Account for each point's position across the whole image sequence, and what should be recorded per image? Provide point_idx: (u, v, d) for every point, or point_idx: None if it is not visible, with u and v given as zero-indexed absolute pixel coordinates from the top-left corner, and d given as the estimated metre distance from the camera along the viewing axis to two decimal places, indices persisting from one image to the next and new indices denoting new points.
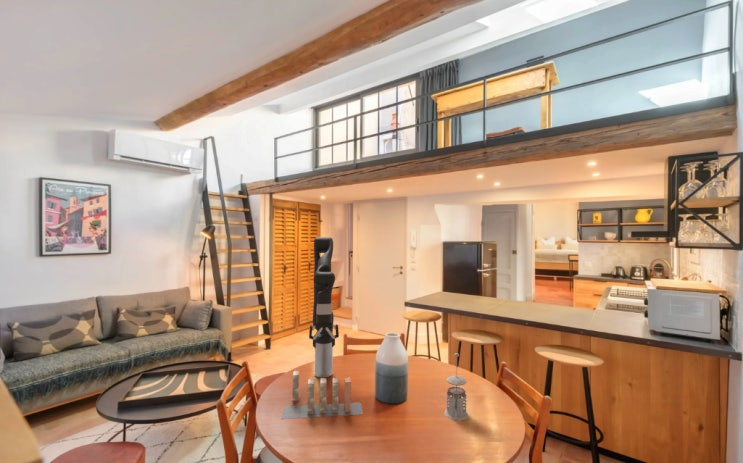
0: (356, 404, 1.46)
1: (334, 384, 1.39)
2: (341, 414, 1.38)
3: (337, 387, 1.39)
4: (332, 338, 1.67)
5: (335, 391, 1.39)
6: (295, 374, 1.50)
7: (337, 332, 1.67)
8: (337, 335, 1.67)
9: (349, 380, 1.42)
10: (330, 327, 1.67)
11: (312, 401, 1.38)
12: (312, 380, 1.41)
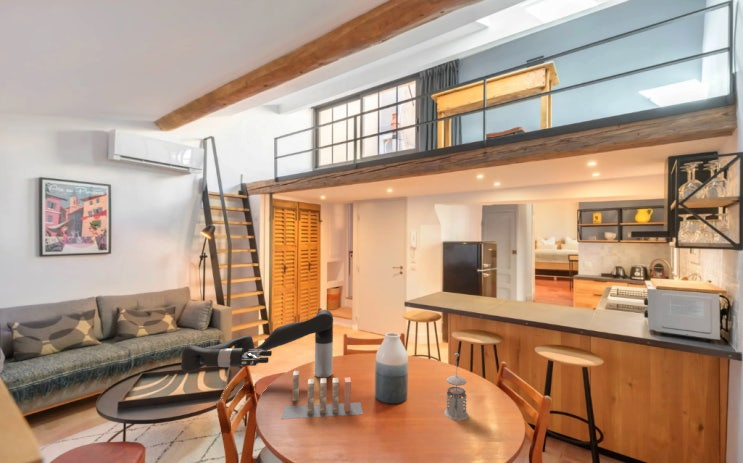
0: (356, 404, 1.46)
1: (334, 384, 1.39)
2: (341, 414, 1.38)
3: (337, 387, 1.39)
4: (262, 352, 1.53)
5: (335, 391, 1.39)
6: (295, 374, 1.50)
7: (256, 349, 1.55)
8: (260, 349, 1.56)
9: (349, 380, 1.42)
10: None
11: (312, 401, 1.38)
12: (312, 380, 1.41)
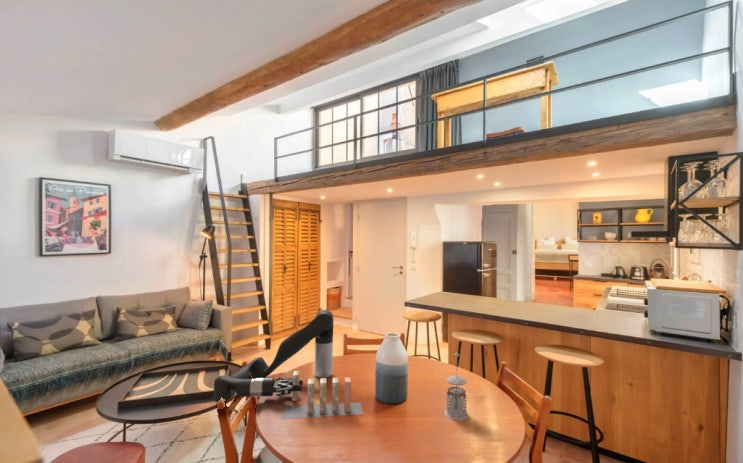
0: (356, 404, 1.46)
1: (334, 384, 1.39)
2: (341, 414, 1.38)
3: (337, 387, 1.39)
4: None
5: (335, 391, 1.39)
6: (295, 374, 1.50)
7: (287, 378, 1.56)
8: (290, 378, 1.56)
9: (349, 380, 1.42)
10: None
11: (312, 401, 1.38)
12: (312, 380, 1.41)
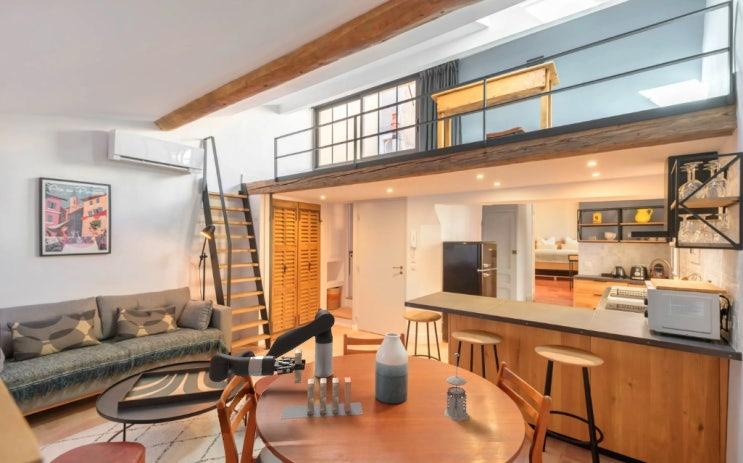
0: (356, 404, 1.46)
1: (334, 384, 1.39)
2: (341, 414, 1.38)
3: (337, 387, 1.39)
4: None
5: (335, 391, 1.39)
6: (298, 352, 1.39)
7: (289, 357, 1.45)
8: (292, 357, 1.44)
9: (349, 380, 1.42)
10: None
11: (312, 401, 1.38)
12: (312, 380, 1.41)
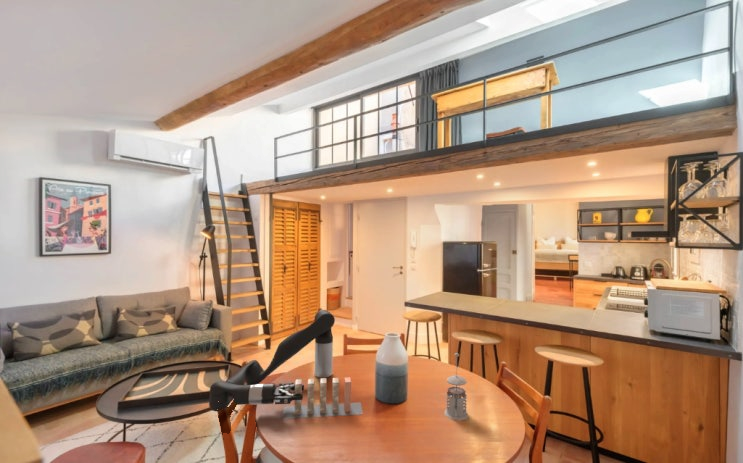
0: (356, 404, 1.46)
1: (334, 384, 1.39)
2: (341, 414, 1.38)
3: (337, 387, 1.39)
4: (294, 387, 1.43)
5: (335, 391, 1.39)
6: (298, 383, 1.38)
7: (287, 383, 1.45)
8: (291, 382, 1.46)
9: (349, 380, 1.42)
10: None
11: (312, 401, 1.38)
12: (312, 380, 1.41)
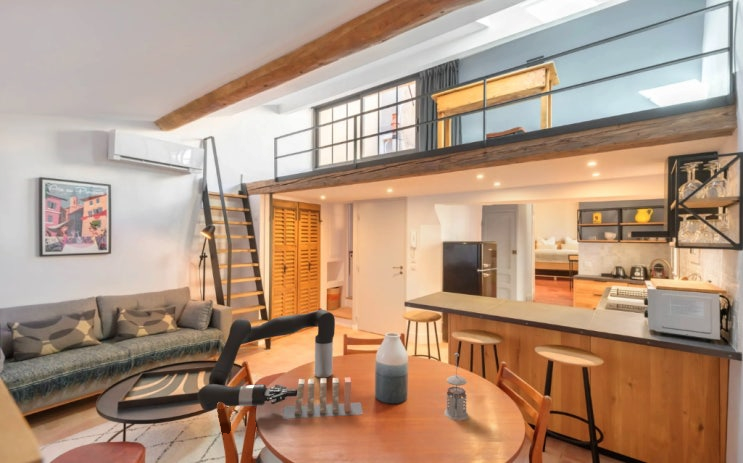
0: (356, 404, 1.46)
1: (334, 384, 1.39)
2: (341, 414, 1.38)
3: (337, 387, 1.39)
4: (287, 391, 1.39)
5: (335, 391, 1.39)
6: (301, 382, 1.39)
7: (282, 386, 1.42)
8: (284, 387, 1.41)
9: (349, 380, 1.42)
10: (274, 388, 1.40)
11: (312, 401, 1.38)
12: (312, 380, 1.41)
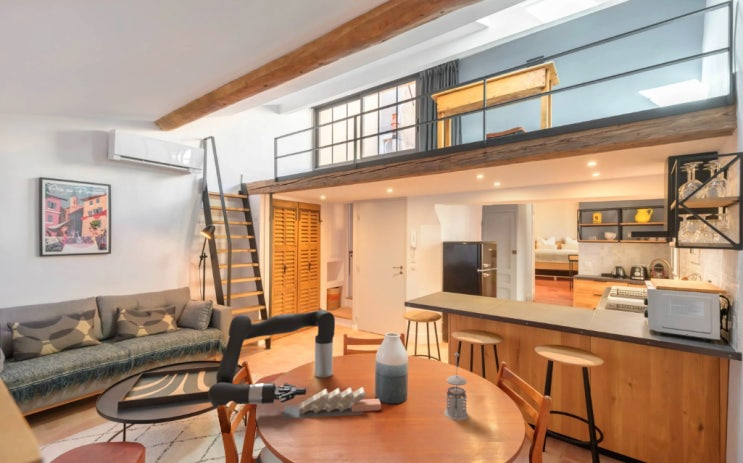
0: None
1: (363, 394, 1.41)
2: (341, 414, 1.38)
3: (361, 398, 1.41)
4: (296, 390, 1.40)
5: (356, 398, 1.40)
6: (327, 395, 1.40)
7: (291, 385, 1.43)
8: (293, 386, 1.42)
9: None
10: None
11: (325, 406, 1.39)
12: (340, 393, 1.43)
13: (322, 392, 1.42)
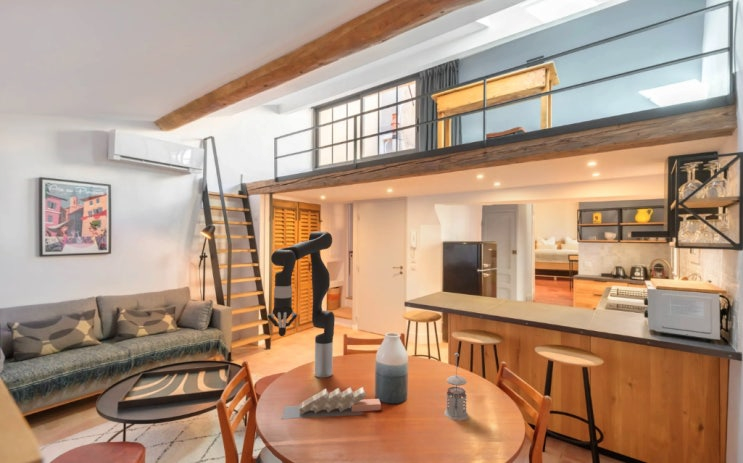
0: None
1: (363, 394, 1.41)
2: (341, 414, 1.38)
3: (361, 398, 1.41)
4: None
5: (356, 398, 1.40)
6: (327, 395, 1.40)
7: None
8: None
9: None
10: None
11: (325, 406, 1.39)
12: (340, 393, 1.43)
13: (322, 392, 1.42)
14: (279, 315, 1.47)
